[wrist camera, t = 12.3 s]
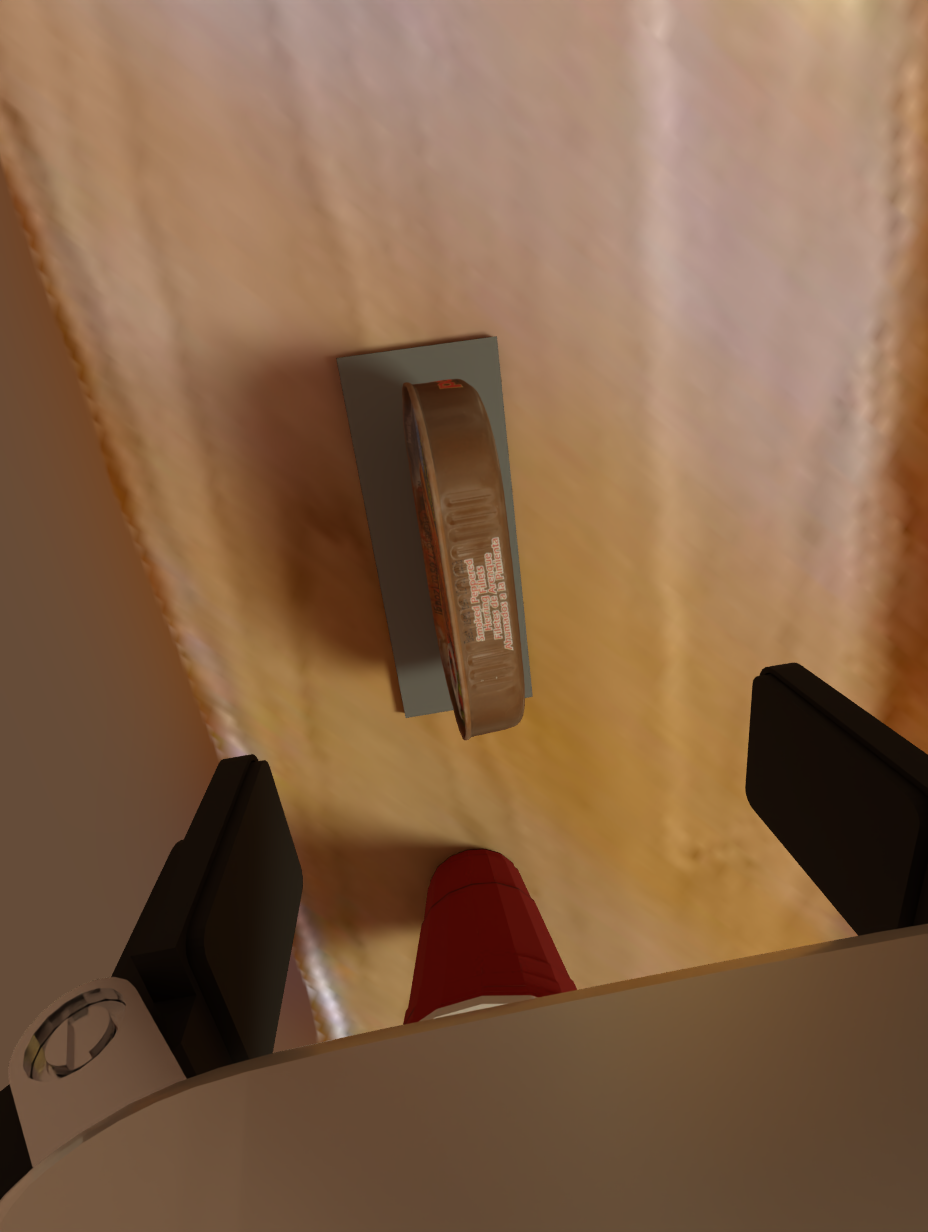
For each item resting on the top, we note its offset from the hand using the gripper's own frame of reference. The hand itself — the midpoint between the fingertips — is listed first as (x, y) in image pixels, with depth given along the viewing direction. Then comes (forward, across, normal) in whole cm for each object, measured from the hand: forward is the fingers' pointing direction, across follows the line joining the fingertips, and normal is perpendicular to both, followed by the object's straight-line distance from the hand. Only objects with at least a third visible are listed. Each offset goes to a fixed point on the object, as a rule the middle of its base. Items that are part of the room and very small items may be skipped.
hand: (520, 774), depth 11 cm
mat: (+19, 0, +1) cm, 19 cm away
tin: (+19, 0, +1) cm, 19 cm away
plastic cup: (+19, +2, +23) cm, 30 cm away
